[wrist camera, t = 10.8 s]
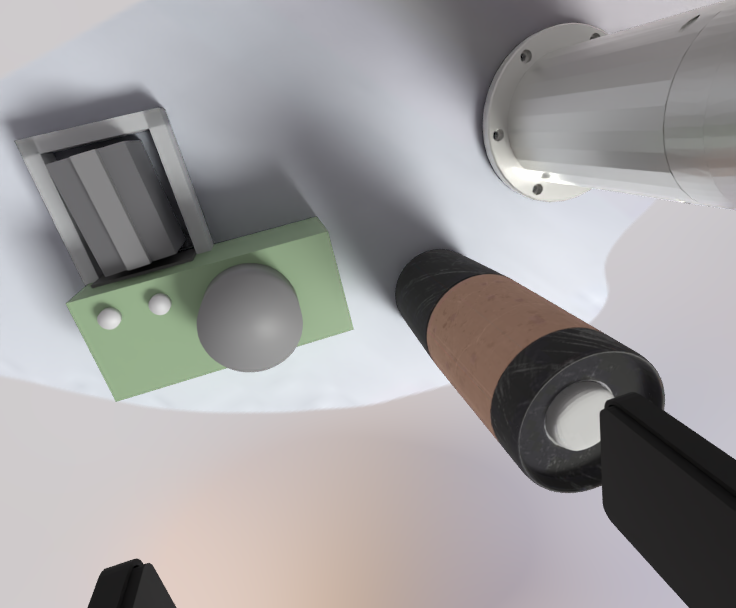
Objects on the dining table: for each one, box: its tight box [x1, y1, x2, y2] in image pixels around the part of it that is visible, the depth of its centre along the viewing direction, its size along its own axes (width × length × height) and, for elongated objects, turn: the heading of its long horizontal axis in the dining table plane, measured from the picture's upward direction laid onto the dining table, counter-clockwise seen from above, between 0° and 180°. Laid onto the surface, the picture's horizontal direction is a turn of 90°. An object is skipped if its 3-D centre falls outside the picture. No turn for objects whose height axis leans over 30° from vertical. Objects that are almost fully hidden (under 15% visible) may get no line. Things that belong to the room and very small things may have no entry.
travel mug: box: [396, 249, 665, 493], centre depth 30 cm, size 8×8×20 cm
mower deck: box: [15, 107, 353, 402], centre depth 29 cm, size 16×16×9 cm
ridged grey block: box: [45, 140, 186, 277], centre depth 30 cm, size 4×7×5 cm, turn 17°
